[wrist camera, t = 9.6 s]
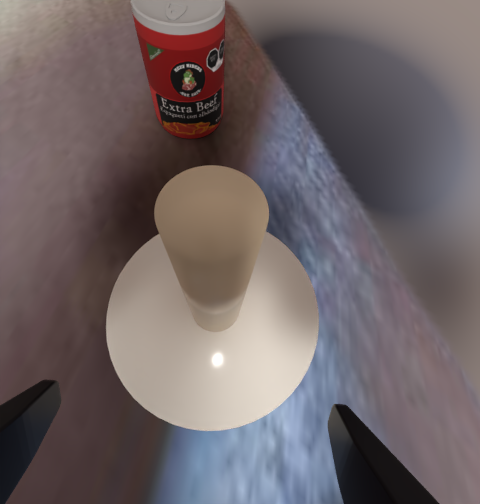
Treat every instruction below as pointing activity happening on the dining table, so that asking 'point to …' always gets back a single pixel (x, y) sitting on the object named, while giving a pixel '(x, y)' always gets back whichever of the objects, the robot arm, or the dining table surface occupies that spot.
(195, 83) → the canned food
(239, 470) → the dining table surface
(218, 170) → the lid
